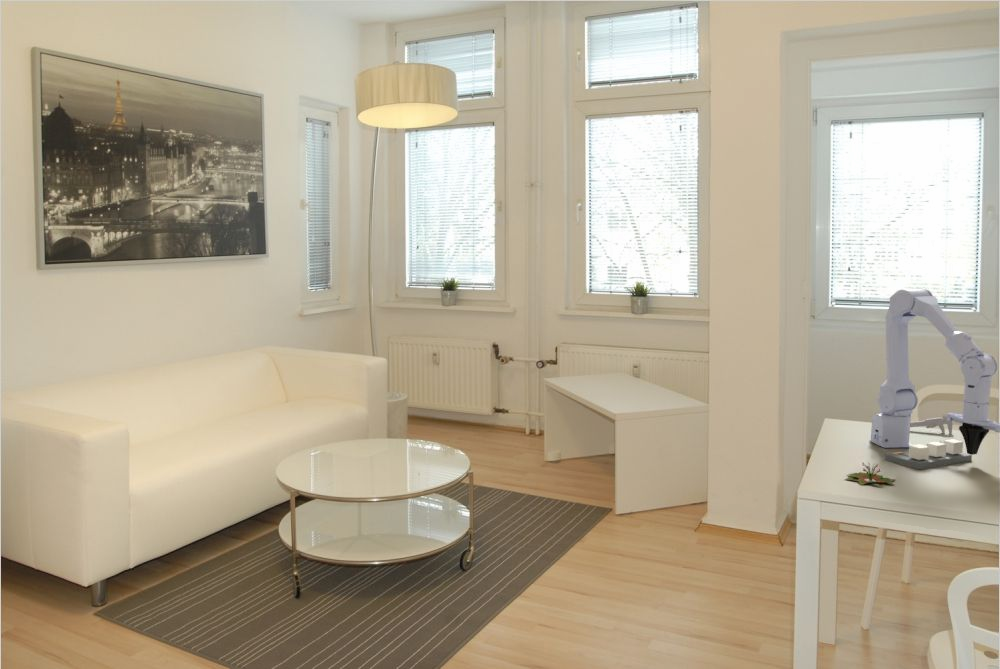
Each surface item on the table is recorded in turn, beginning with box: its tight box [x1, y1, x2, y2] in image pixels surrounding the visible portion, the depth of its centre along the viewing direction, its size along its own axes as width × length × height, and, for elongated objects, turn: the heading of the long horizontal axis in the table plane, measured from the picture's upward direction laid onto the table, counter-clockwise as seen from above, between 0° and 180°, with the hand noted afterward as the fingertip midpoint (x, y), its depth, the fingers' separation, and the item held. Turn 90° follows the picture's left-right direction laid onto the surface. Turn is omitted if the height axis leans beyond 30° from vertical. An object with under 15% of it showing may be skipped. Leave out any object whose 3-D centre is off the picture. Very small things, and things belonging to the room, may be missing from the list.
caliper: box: [910, 413, 953, 435], centre depth 251 cm, size 20×1×6 cm, turn 73°
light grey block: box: [908, 443, 929, 460], centre depth 214 cm, size 4×3×3 cm
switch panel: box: [885, 450, 973, 470], centre depth 219 cm, size 20×10×2 cm, turn 115°
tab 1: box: [926, 441, 947, 457], centre depth 217 cm, size 4×3×3 cm
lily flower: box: [844, 462, 896, 489], centre depth 201 cm, size 12×12×5 cm
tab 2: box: [942, 438, 964, 454], centre depth 220 cm, size 4×3×3 cm
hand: (972, 453), depth 215 cm, fingers closed
